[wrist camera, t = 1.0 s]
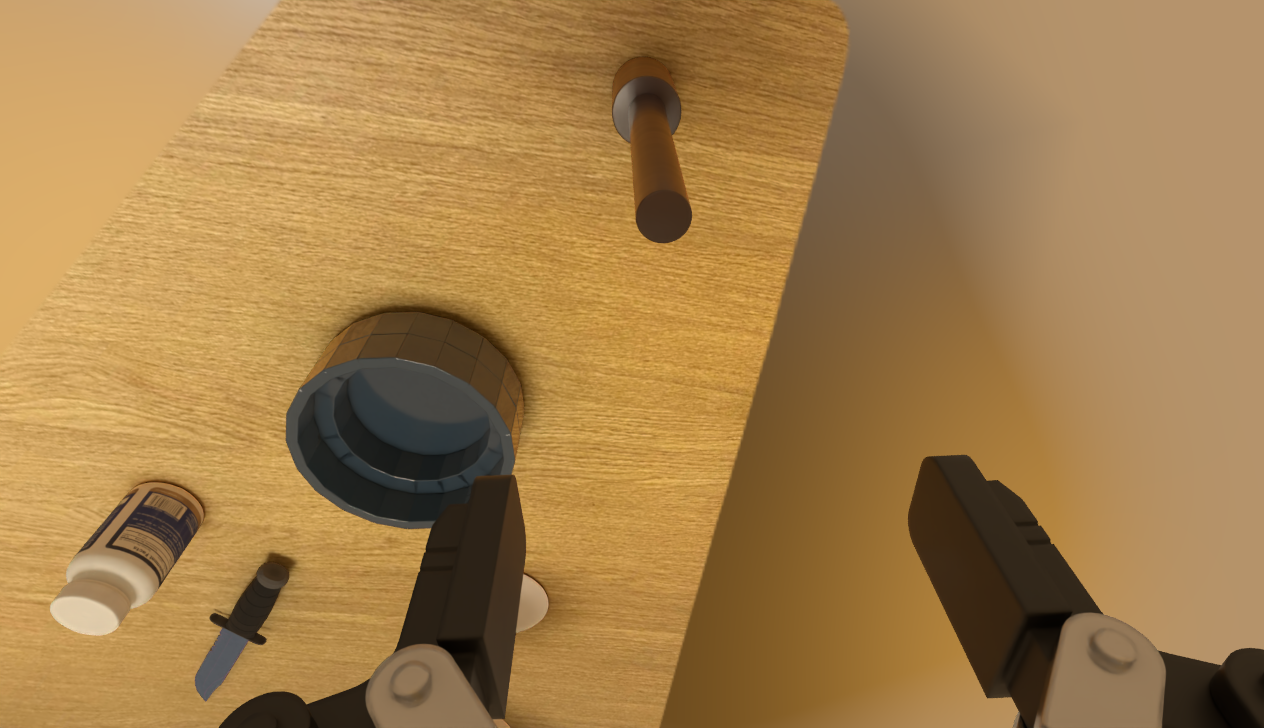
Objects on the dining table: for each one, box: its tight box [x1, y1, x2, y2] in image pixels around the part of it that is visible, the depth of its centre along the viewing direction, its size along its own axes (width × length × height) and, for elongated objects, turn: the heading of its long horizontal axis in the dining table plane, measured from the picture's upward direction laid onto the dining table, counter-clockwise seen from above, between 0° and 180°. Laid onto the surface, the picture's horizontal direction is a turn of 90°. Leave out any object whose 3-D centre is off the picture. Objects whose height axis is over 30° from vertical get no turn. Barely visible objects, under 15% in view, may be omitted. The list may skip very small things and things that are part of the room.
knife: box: [195, 562, 289, 701], centre depth 59 cm, size 24×2×5 cm
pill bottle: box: [50, 482, 204, 635], centre depth 47 cm, size 5×5×10 cm
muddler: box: [612, 57, 692, 243], centre depth 28 cm, size 3×3×18 cm
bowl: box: [286, 312, 524, 529], centre depth 43 cm, size 13×13×6 cm
